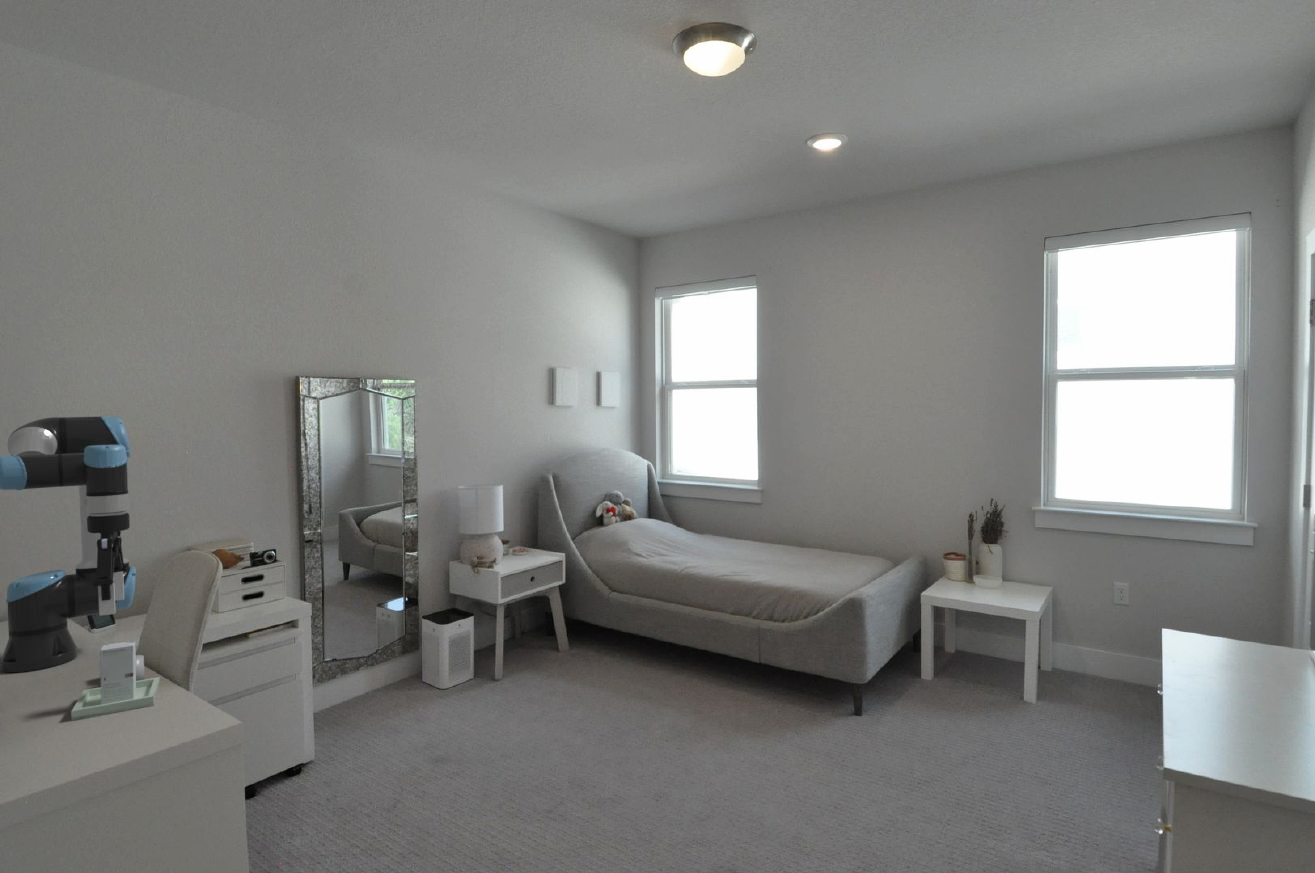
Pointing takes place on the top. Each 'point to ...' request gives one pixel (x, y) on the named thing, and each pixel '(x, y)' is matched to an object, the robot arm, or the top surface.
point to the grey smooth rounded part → (140, 668)
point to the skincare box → (118, 672)
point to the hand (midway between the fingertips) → (112, 607)
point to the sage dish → (92, 704)
